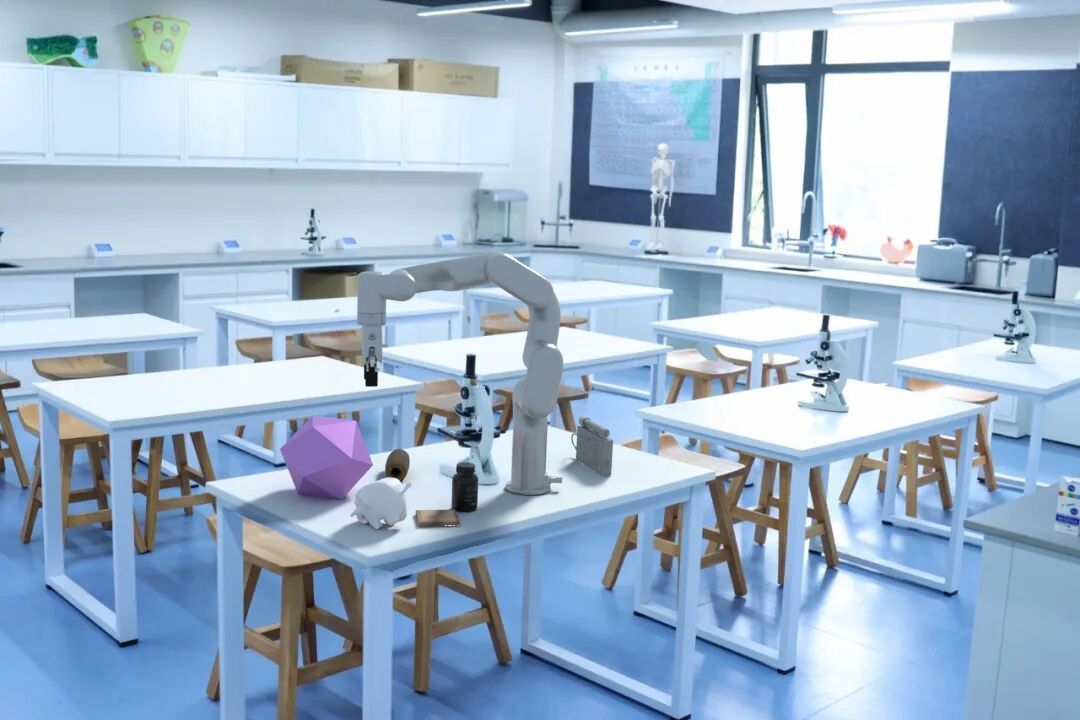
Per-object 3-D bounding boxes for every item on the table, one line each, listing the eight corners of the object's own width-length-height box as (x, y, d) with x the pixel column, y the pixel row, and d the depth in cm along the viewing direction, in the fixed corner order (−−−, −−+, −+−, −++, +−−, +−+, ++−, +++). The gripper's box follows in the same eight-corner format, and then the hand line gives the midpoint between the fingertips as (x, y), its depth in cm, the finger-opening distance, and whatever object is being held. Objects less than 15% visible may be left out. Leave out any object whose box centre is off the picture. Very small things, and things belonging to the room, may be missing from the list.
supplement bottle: (445, 508, 298) (446, 463, 296) (465, 503, 303) (466, 459, 301) (463, 514, 293) (464, 469, 291) (482, 509, 298) (484, 465, 296)
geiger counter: (617, 429, 333) (583, 411, 356) (597, 430, 331) (564, 412, 354) (615, 475, 336) (580, 454, 359) (595, 477, 333) (562, 455, 356)
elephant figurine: (383, 530, 290) (365, 488, 291) (434, 505, 281) (415, 462, 282) (353, 543, 280) (333, 500, 281) (404, 519, 271) (384, 474, 272)
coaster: (454, 513, 294) (454, 509, 293) (459, 526, 284) (459, 521, 284) (415, 514, 292) (415, 509, 291) (419, 527, 282) (419, 522, 282)
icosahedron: (394, 476, 301) (364, 392, 309) (323, 489, 287) (293, 400, 295) (357, 509, 317) (329, 428, 324) (288, 522, 303) (261, 438, 310)
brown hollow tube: (385, 469, 334) (385, 446, 333) (409, 469, 335) (409, 446, 334) (384, 483, 319) (385, 460, 318) (410, 483, 320) (410, 460, 319)
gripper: (387, 323, 293) (386, 389, 296) (384, 314, 310) (383, 376, 313) (358, 323, 292) (357, 389, 295) (356, 314, 308) (355, 376, 311)
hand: (370, 382), depth 304 cm, fingers open, 9 cm apart
